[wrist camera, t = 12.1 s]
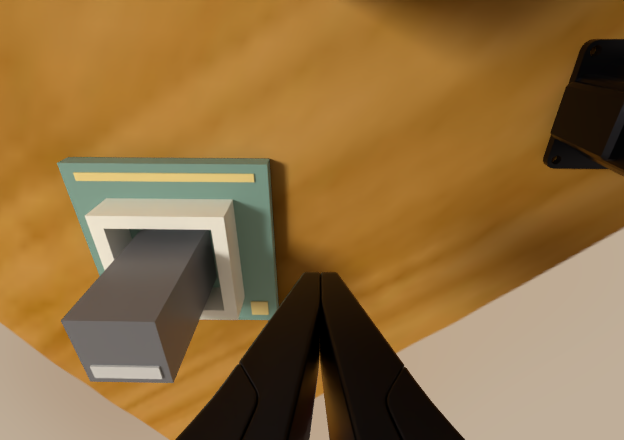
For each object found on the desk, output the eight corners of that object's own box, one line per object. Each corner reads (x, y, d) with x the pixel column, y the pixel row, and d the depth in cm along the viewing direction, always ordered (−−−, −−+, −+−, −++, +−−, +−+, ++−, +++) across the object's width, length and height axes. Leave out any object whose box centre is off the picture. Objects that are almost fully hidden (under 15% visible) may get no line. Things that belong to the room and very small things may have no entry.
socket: (232, 199, 21) (223, 217, 19) (244, 296, 24) (238, 320, 22) (106, 198, 21) (84, 215, 19) (137, 295, 24) (122, 318, 23)
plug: (208, 226, 22) (153, 323, 14) (217, 282, 24) (174, 391, 17) (144, 225, 22) (59, 322, 15) (160, 281, 24) (92, 389, 17)
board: (269, 158, 20) (266, 165, 19) (278, 310, 26) (277, 321, 25) (67, 157, 21) (55, 163, 20) (122, 308, 26) (114, 318, 25)
